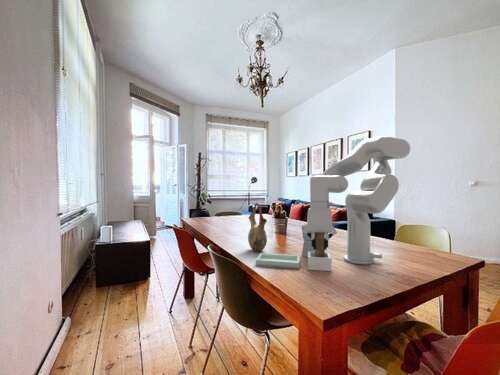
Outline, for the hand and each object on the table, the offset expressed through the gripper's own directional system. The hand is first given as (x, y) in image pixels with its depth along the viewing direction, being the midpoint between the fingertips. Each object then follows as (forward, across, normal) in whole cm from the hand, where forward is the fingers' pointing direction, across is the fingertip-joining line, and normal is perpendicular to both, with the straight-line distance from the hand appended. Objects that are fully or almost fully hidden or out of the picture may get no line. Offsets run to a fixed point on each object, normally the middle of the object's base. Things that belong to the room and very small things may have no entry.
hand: (319, 248), depth 104 cm
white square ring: (+8, 0, 0) cm, 8 cm away
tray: (+7, +17, 0) cm, 19 cm away
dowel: (+7, 0, 0) cm, 7 cm away
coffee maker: (+8, +3, -17) cm, 19 cm away
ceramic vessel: (+8, +30, -19) cm, 37 cm away
